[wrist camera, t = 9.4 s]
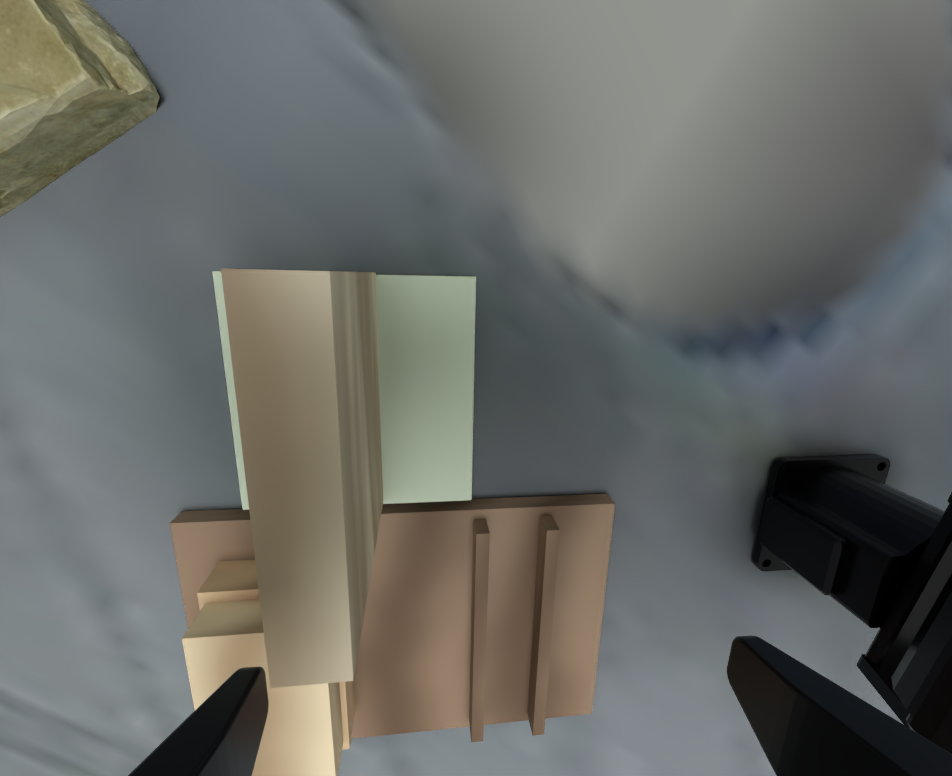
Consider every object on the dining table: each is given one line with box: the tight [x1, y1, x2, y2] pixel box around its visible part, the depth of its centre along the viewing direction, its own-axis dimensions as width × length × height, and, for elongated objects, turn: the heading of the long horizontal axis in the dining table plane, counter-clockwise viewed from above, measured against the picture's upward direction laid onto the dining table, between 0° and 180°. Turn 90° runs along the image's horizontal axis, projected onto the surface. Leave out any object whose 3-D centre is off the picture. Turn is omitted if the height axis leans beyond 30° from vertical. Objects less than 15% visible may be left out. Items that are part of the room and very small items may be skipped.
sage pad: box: [212, 271, 476, 510], centre depth 19 cm, size 10×10×1 cm
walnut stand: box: [170, 494, 615, 742], centre depth 22 cm, size 20×13×2 cm, turn 89°
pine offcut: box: [182, 600, 343, 776], centre depth 18 cm, size 5×8×2 cm, turn 179°
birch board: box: [221, 269, 383, 688], centre depth 14 cm, size 2×10×9 cm, turn 178°
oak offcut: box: [197, 560, 356, 750], centre depth 20 cm, size 6×9×2 cm, turn 179°
